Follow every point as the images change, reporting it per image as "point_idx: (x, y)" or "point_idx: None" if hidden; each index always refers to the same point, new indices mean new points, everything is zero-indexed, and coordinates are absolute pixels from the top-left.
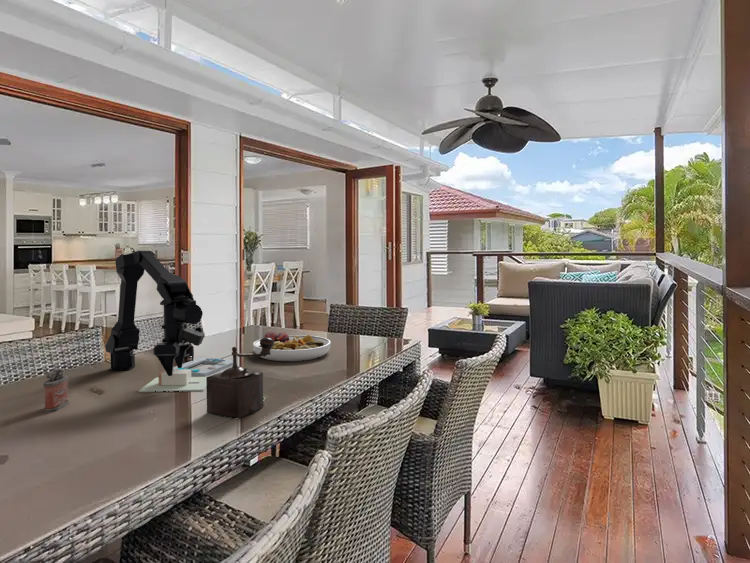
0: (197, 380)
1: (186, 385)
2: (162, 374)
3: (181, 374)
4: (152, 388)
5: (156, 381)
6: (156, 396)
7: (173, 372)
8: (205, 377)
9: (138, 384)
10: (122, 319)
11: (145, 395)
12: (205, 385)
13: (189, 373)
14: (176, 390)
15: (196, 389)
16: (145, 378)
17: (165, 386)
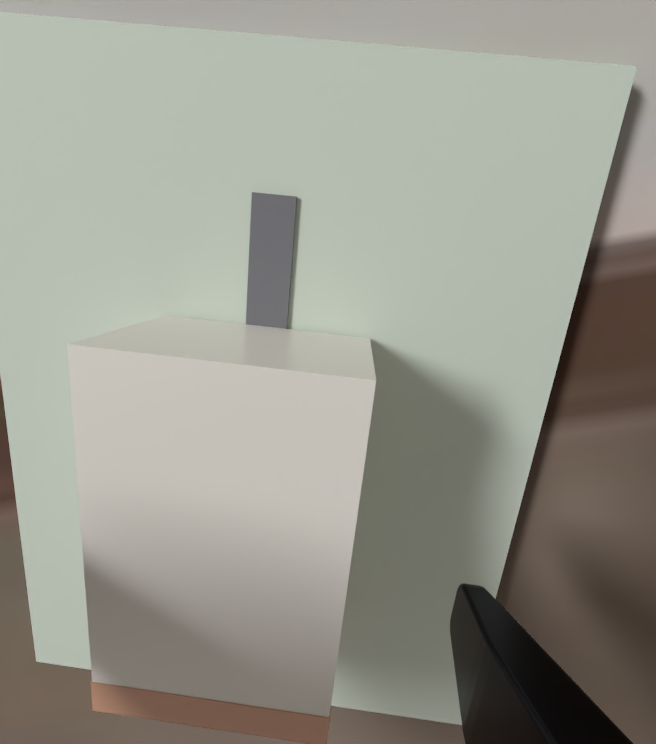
0: (158, 237)
1: (373, 338)
2: (331, 695)
3: (365, 455)
4: (417, 640)
5: None
6: (645, 567)
7: (267, 585)
8: (12, 149)
9: (209, 738)
10: None
11: (573, 652)
12: (425, 70)
13: (199, 347)
14: (539, 418)
15: (603, 172)
16: (31, 718)
17: (369, 546)
